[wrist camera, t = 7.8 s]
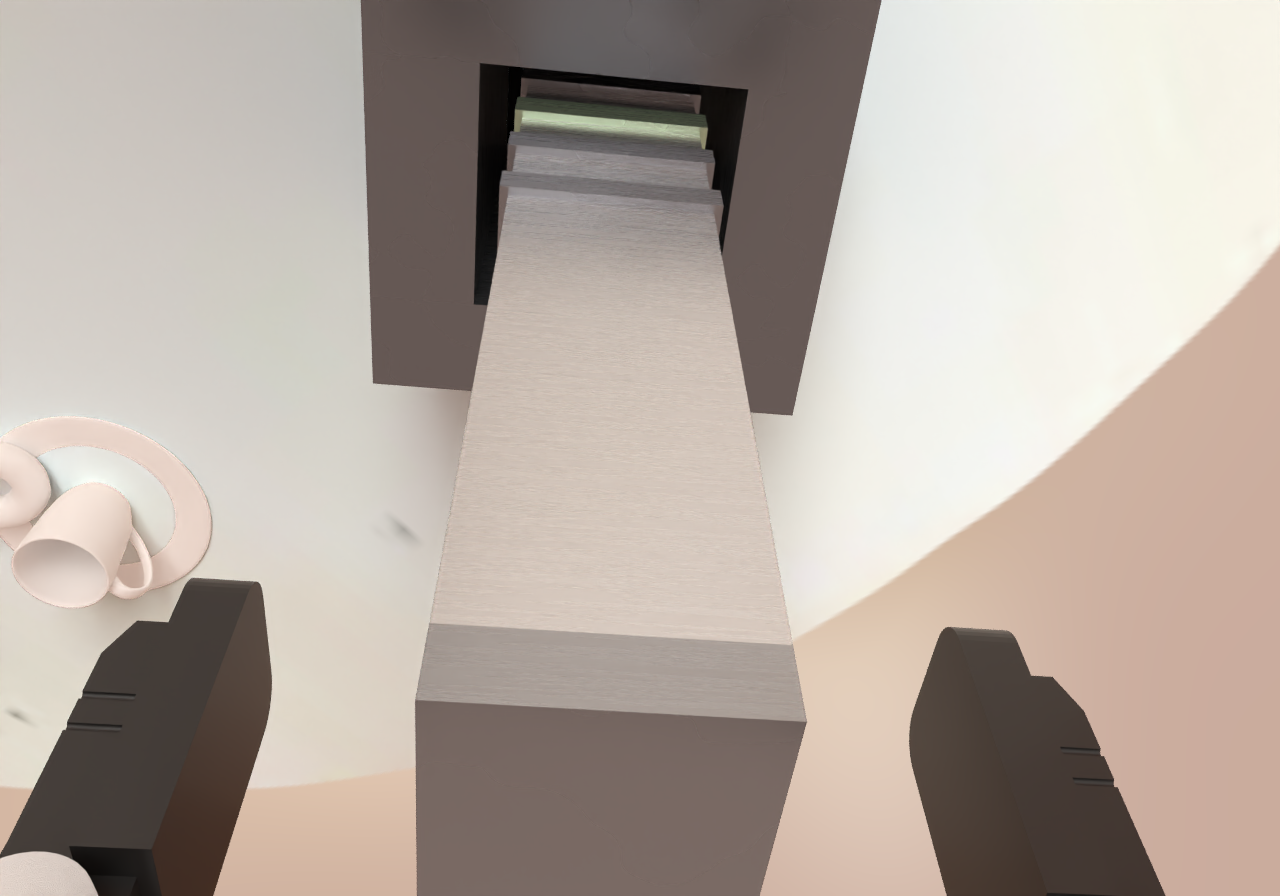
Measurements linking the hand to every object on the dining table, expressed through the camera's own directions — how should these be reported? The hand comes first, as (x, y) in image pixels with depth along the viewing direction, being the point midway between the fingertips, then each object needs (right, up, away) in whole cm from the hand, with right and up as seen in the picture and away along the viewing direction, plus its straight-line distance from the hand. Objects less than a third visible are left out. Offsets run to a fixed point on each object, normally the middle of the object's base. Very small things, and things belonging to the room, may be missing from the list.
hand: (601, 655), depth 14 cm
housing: (-1, +13, +19) cm, 23 cm away
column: (0, +9, +13) cm, 16 cm away
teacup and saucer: (-19, +3, +27) cm, 33 cm away
